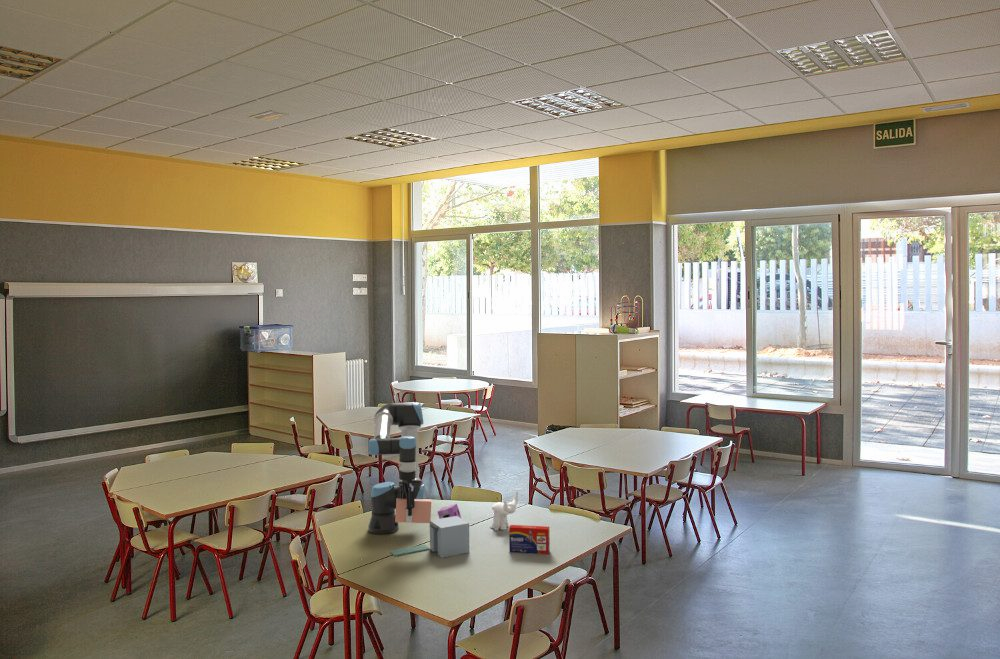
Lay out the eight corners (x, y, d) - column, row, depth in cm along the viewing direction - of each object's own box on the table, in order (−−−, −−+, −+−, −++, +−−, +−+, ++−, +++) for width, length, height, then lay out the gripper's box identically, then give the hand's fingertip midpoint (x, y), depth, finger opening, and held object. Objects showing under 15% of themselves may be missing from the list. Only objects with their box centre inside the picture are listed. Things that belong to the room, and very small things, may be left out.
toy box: (549, 551, 334) (549, 526, 334) (548, 554, 330) (548, 529, 330) (510, 549, 338) (510, 524, 337) (509, 552, 334) (509, 527, 333)
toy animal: (508, 535, 359) (509, 501, 358) (485, 532, 363) (486, 498, 362) (520, 523, 377) (522, 491, 376) (498, 520, 381) (499, 488, 380)
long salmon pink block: (395, 520, 337) (396, 498, 336) (430, 521, 338) (431, 499, 338) (395, 522, 333) (396, 500, 333) (430, 523, 334) (431, 501, 334)
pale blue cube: (428, 549, 339) (428, 520, 338) (457, 543, 346) (456, 515, 345) (439, 558, 327) (439, 528, 327) (469, 552, 334) (469, 523, 334)
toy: (461, 538, 351) (451, 508, 352) (446, 542, 353) (436, 512, 354) (466, 531, 362) (457, 502, 363) (452, 536, 363) (442, 507, 364)
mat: (390, 552, 336) (390, 551, 336) (424, 545, 344) (424, 544, 344) (394, 556, 330) (394, 554, 330) (429, 549, 339) (429, 548, 338)
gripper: (392, 467, 341) (392, 517, 341) (406, 474, 325) (406, 526, 325) (408, 466, 345) (407, 515, 345) (422, 473, 329) (421, 524, 329)
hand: (406, 520), depth 335 cm, fingers closed on long salmon pink block, 5 cm apart
